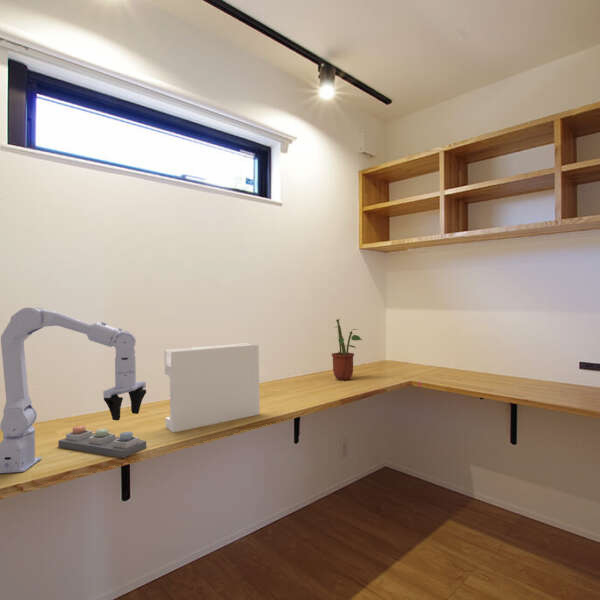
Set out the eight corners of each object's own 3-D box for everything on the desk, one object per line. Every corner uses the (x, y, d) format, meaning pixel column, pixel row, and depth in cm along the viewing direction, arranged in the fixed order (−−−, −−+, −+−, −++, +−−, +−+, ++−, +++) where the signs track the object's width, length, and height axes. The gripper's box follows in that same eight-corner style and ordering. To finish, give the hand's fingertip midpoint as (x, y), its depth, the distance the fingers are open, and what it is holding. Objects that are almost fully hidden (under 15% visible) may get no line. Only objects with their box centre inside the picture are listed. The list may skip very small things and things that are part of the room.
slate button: (135, 437, 121) (135, 432, 121) (126, 441, 118) (126, 436, 118) (126, 436, 122) (126, 431, 122) (116, 439, 119) (116, 434, 119)
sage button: (110, 433, 125) (110, 429, 125) (101, 437, 121) (101, 432, 121) (102, 432, 126) (102, 428, 126) (92, 436, 123) (92, 431, 123)
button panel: (146, 447, 123) (146, 435, 123) (123, 458, 114) (123, 445, 114) (83, 438, 133) (83, 427, 133) (58, 447, 125) (58, 435, 125)
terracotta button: (88, 430, 128) (88, 426, 128) (78, 434, 125) (78, 429, 125) (80, 429, 130) (80, 424, 130) (70, 432, 126) (70, 428, 126)
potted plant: (334, 381, 223) (332, 319, 224) (329, 377, 239) (328, 319, 239) (364, 380, 225) (363, 319, 225) (358, 376, 240) (356, 318, 241)
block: (173, 432, 137) (172, 351, 138) (165, 427, 144) (164, 349, 144) (259, 414, 159) (258, 344, 159) (249, 410, 165) (248, 343, 165)
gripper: (116, 376, 112) (116, 424, 112) (153, 368, 125) (153, 411, 125) (97, 375, 115) (98, 422, 114) (135, 367, 128) (136, 409, 128)
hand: (125, 416), depth 120 cm, fingers open, 7 cm apart
